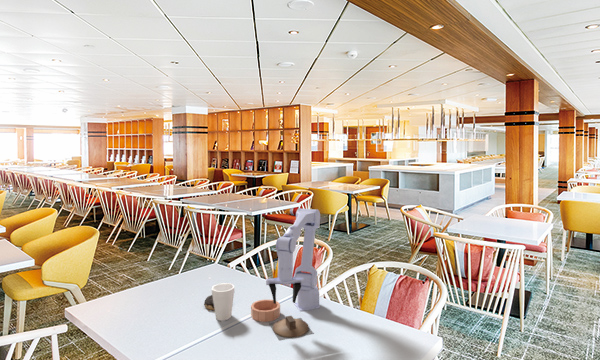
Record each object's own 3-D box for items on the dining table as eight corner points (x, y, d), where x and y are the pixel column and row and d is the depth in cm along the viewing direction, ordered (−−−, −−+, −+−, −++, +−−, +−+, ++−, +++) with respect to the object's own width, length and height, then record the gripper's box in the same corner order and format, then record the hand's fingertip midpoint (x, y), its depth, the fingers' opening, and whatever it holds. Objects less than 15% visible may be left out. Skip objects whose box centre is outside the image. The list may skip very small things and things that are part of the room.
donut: (232, 300, 175) (232, 292, 175) (224, 311, 163) (224, 303, 163) (209, 299, 176) (209, 291, 176) (200, 310, 164) (200, 302, 164)
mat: (300, 318, 156) (300, 317, 156) (313, 334, 143) (313, 333, 143) (268, 324, 151) (268, 323, 151) (279, 341, 138) (279, 340, 138)
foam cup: (229, 323, 152) (229, 292, 151) (208, 321, 154) (207, 290, 153) (238, 313, 161) (237, 284, 160) (218, 311, 163) (217, 282, 162)
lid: (300, 317, 156) (300, 308, 156) (313, 333, 143) (313, 323, 143) (268, 323, 151) (268, 314, 151) (279, 340, 138) (278, 330, 138)
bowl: (275, 307, 167) (275, 297, 166) (283, 319, 156) (283, 308, 155) (248, 312, 163) (248, 302, 162) (255, 324, 151) (255, 313, 151)
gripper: (267, 270, 140) (266, 306, 140) (305, 269, 143) (304, 305, 143) (265, 266, 147) (264, 300, 147) (301, 265, 150) (300, 299, 150)
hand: (284, 302), depth 146 cm, fingers open, 7 cm apart
